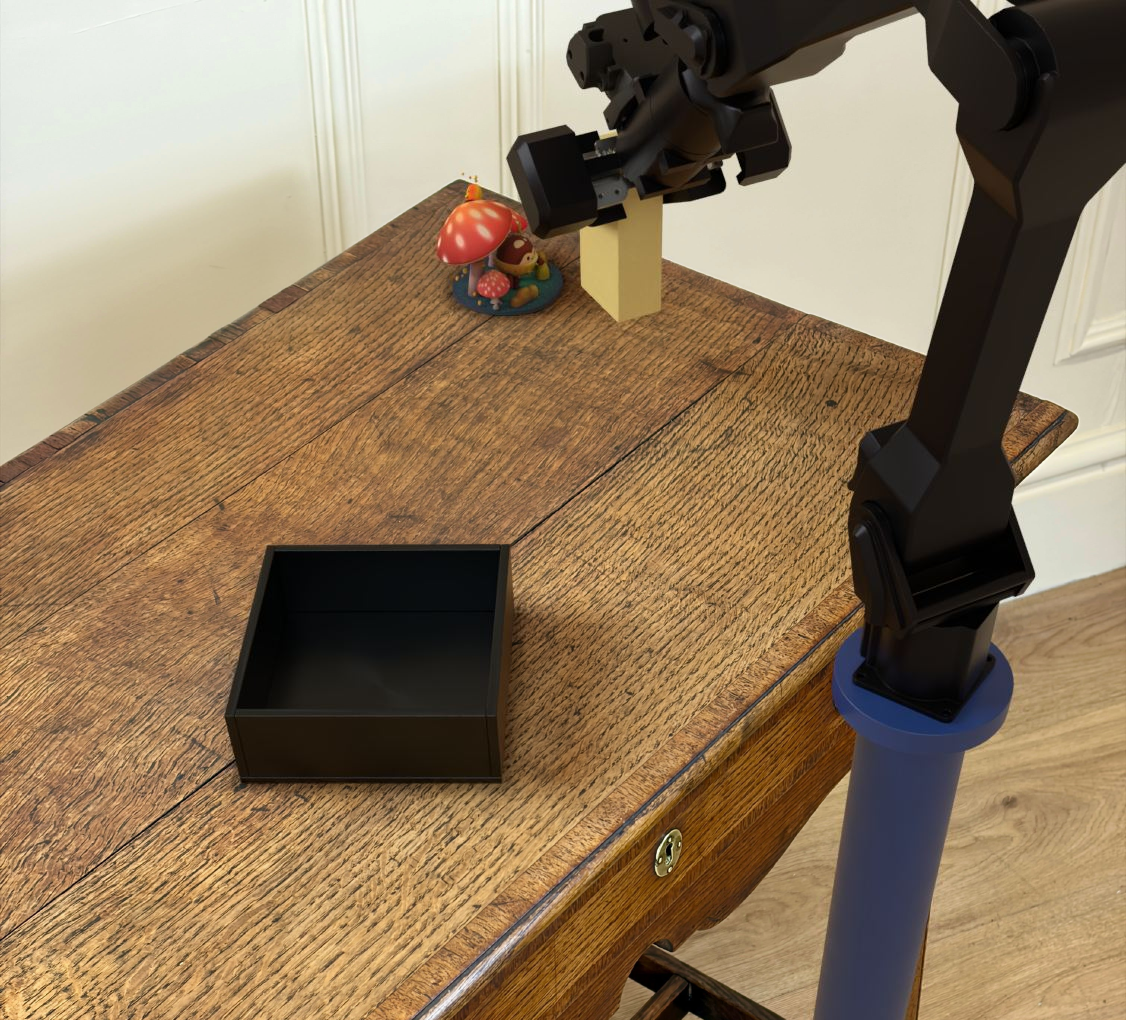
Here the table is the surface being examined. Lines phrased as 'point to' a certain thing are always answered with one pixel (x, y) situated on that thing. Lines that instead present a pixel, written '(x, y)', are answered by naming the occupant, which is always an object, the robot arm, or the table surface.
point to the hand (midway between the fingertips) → (611, 205)
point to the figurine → (495, 259)
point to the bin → (375, 665)
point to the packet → (625, 258)
